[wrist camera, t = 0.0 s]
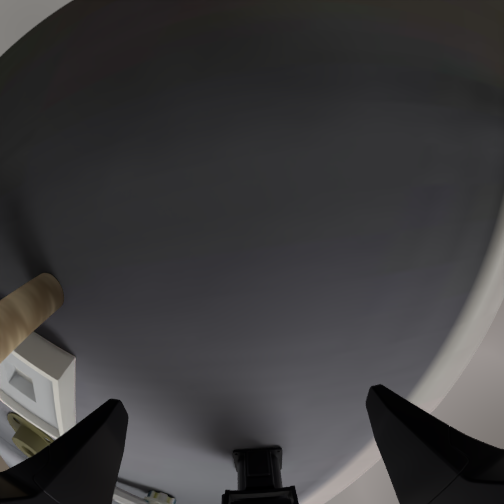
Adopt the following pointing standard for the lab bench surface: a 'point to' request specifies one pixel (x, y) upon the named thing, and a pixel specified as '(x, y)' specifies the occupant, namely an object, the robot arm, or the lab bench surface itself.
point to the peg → (27, 310)
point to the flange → (28, 435)
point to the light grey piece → (132, 503)
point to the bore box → (40, 385)
